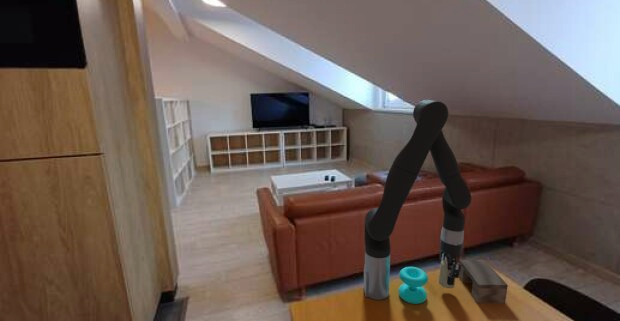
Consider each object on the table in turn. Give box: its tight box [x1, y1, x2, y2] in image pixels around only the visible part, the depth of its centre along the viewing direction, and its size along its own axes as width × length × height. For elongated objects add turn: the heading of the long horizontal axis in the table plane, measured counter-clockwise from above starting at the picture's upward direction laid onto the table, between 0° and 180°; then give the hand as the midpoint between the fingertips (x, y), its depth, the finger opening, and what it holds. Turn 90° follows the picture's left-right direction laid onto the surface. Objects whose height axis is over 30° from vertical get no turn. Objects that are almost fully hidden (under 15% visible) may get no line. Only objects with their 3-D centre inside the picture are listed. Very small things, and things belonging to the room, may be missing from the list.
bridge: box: [458, 259, 509, 304], centre depth 116 cm, size 10×16×8 cm, turn 177°
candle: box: [438, 260, 456, 289], centre depth 114 cm, size 6×6×10 cm
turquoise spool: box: [398, 266, 429, 305], centre depth 112 cm, size 10×10×10 cm
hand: (447, 279), depth 114 cm, fingers closed on candle, 5 cm apart
